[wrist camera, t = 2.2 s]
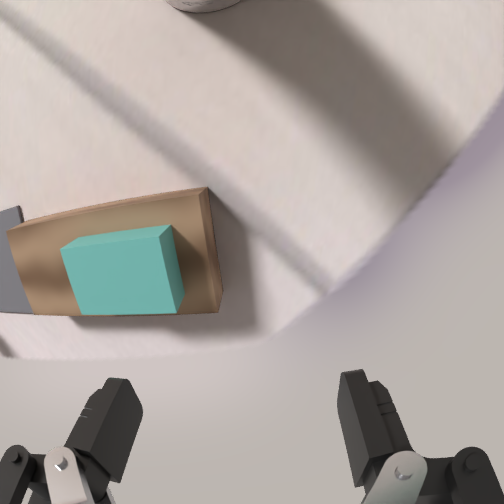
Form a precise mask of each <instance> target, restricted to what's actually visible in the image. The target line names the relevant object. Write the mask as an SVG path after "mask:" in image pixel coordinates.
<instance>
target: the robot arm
mask: <svg viewBox="0 0 504 504" xmlns="http://www.w3.org/2000/svg"><path fill="white" fill-rule="evenodd" d="M239 1H241V0H166V2H167V3H169V4H170V5H171V6H173V7H175V8H177V9H180V10H183V11H188V12H199V13H201V12H212V11H216V10H220V9H224V8H226V7H229V6H232V5H234V4H235V3H237V2H239ZM337 408H338V415H339V419H340V423H341V427H342V431H343V435H344V440H345V444H346V449H347V453H348V458H349V462H350V467H351V471H352V476H353V480H354V486H355V487H360V486H364V489H365V493H366V495H365V497H364V498H363V500H362V502H361V504H504V494H503V492H502V489H501V487H500V484H499V481H498V479H497V477H496V474H495V472H494V469H493V467H492V465H491V463H490V460H489V458H488V456H487V454H486V453H485V452H484V451H483V450H481V449H480V448H477V447H467V448H464V449H462V450H461V451H459V452H458V453H457V454H456V455H455V457H448V458H434V459H433V458H425V457H422V456H421V455H419V454H418V453H416V452H415V451H414V450H413V449H412V447H411V445H410V443H409V440H408V438H407V435H406V432H405V430H404V428H403V425H402V423H401V420H400V418H399V415H398V413H397V412H396V408H395V406H394V404H393V402H392V399H391V396H390V394H389V392H388V390H387V389H386V388H385V387H384V386H383V385H382V384H381V383H380V382H379V381H374V382H368V380H367V378H366V375H365V372H364V371H363V369H359V370H354V371H348V372H342V373H341V376H340V385H339V391H338V399H337ZM80 415H81V416H80V417H79V418H78V420H77V422H76V424H75V426H74V428H73V430H72V432H71V433H70V435H69V437H68V439H67V441H66V444H65V445H64V446H63V447H56V448H53V449H52V450H50V451H49V452H48V453H47V455H41V454H30V453H29V452H28V451H27V450H26V449H25V448H24V447H23V446H21V445H14V446H11V447H10V448H8V449H7V450H6V452H5V454H4V456H3V457H2V459H1V462H0V504H21V503H22V500H23V498H24V495H25V493H26V490H27V488H30V489H31V490H32V491H33V493H32V495H31V497H30V500H29V503H28V504H116V503H115V501H114V498H113V496H112V494H111V491H110V489H109V488H108V484H109V481H113V482H117V483H120V482H121V479H122V476H123V473H124V470H125V467H126V463H127V461H128V457H129V455H130V451H131V449H132V446H133V443H134V440H135V437H136V434H137V431H138V428H139V426H140V423H141V420H142V416H143V409H142V405H141V403H140V401H139V399H138V397H137V395H136V393H135V391H134V389H133V387H132V385H131V383H130V381H129V380H128V379H120V378H108V379H107V380H106V382H105V384H104V386H103V388H102V389H98V390H97V391H96V392H95V393H94V394H93V395H92V396H90V397H89V399H88V401H87V403H86V405H85V409H83V410H82V412H81V414H80Z"/></svg>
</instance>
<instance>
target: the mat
mask: <svg viewBox="0 0 504 504" xmlns="http://www.w3.org/2000/svg"><path fill="white" fill-rule="evenodd" d="M21 223H23V221H22V216H21V212H20V207H19V206H16V207H13V208H10V209H7V210H4V211H1V212H0V311H1V312H19V313H33V311H32V308H31V306H30V303H29V301H28V298H27V296H26V293H25V291H24V288H23V285H22V282H21V280H20V277H19V274H18V271H17V268H16V265H15V262H14V259H13V255H12V252H11V248H10V245H9V241H8V238H7V234H6V231H7V230H9V229H11V228H13V227H15V226H17V225H19V224H21Z"/></svg>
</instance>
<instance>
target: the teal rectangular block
mask: <svg viewBox="0 0 504 504" xmlns="http://www.w3.org/2000/svg"><path fill="white" fill-rule="evenodd" d="M60 251H61V255H62V258H63V262H64V265H65V268H66V271H67V274H68V278H69V281H70V284H71V286H72V289H73V292H74V295H75V298H76V300H77V303H78V306H79V308H80V311H81V314H82V315H128V314H166V313H177V311H178V309H179V306H180V304H181V302H182V300H183V298H184V295H185V291H184V287H183V282H182V278H181V273H180V268H179V264H178V259H177V254H176V249H175V244H174V239H173V233H172V228H171V224H170V225H162V226H154V227H147V228H139V229H132V230H124V231H117V232H110V233H103V234H97V235H90V236H84V237H78V238H77V239H75V240H73V241H72V242H70V243H69V244H67V245H66V246H64V247H62V248H61V249H60Z"/></svg>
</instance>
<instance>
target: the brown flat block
mask: <svg viewBox="0 0 504 504" xmlns="http://www.w3.org/2000/svg"><path fill="white" fill-rule="evenodd" d="M170 224H171V228H172V233H173V239H174V244H175V249H176V254H177V259H178V264H179V268H180V273H181V278H182V282H183V287H184V291H185V295H184V298H183V300H182V302H181V304H180V306H179V309H178V311H177V313H166V314H128V315H82V314H81V311H80V308H79V306H78V303H77V300H76V298H75V295H74V292H73V289H72V286H71V284H70V281H69V278H68V274H67V271H66V268H65V265H64V262H63V258H62V255H61V251H60V249H61V248H62V247H64V246H66V245H67V244H69V243H70V242H72V241H73V240H75V239H77V238H78V237H84V236H90V235H97V234H103V233H110V232H117V231H124V230H132V229H139V228H147V227H154V226H162V225H170ZM6 234H7V238H8V241H9V245H10V248H11V252H12V255H13V259H14V262H15V265H16V268H17V271H18V274H19V277H20V280H21V282H22V285H23V288H24V291H25V293H26V296H27V298H28V301H29V303H30V306H31V308H32V311H33V313H34V315H57V316H151V315H180V314H201V313H218V311H219V306H220V302H221V297H222V293H223V287H222V281H221V275H220V269H219V262H218V256H217V250H216V243H215V236H214V230H213V223H212V216H211V209H210V202H209V195H208V187H202V188H194V189H187V190H180V191H173V192H166V193H160V194H154V195H148V196H142V197H136V198H130V199H125V200H119V201H114V202H108V203H103V204H98V205H93V206H88V207H84V208H79V209H74V210H70V211H65V212H61V213H57V214H52V215H48V216H44V217H40V218H36V219H32V220H28V221H26V222H24V223H21V224H19V225H17V226H15V227H13V228H11V229H9V230H7V231H6Z"/></svg>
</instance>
